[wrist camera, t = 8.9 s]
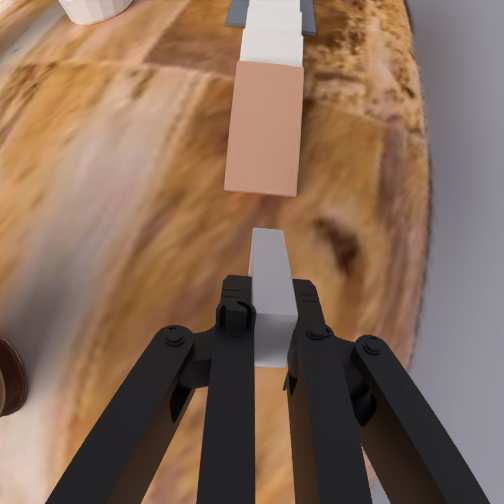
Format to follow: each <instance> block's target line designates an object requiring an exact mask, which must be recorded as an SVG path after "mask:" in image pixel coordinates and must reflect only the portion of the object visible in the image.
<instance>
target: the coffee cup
mask: <svg viewBox="0 0 504 504" xmlns="http://www.w3.org/2000/svg"><path fill="white" fill-rule="evenodd" d="M26 389H27V383H26V377H25V372H24V368H23V365H22V363H21V360H20V358H19V356H18V354H17V352H16V350H15V349H14V348H13V347H12V346H11V344H10V343H9V341H8V340H6V339H1V338H0V417H2V416H7V415H10V414H13V413H14V412H16V411H18V410H19V409H20V408H21V407H22V405H23V403H24V401H25V396H26Z"/></svg>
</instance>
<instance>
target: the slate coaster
mask: <svg viewBox="0 0 504 504" xmlns="http://www.w3.org/2000/svg"><path fill="white" fill-rule="evenodd" d="M249 2H250V0H232V1H231V5H230V8H229V12H228V15H227V19H226V26H232V27H246V19H247V11H248V6H249ZM300 12H302V28H301V34H304V35H310V36H315V35H316V27H315V18H314V10H313V3H312V0H300Z"/></svg>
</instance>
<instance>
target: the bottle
mask: <svg viewBox="0 0 504 504" xmlns="http://www.w3.org/2000/svg"><path fill="white" fill-rule="evenodd" d="M59 2H60V4H61V5H62V7H63V8H64V10H65V11H66V13H67V15H68V16H69V18H70V19H71V21H72V22H74V23H76V24H79V25H91V24H96V23H99V22H102V21H105V20H108V19H110V18H112V17H114V16H116V15H118V14H119V13H121V12H123V11H124V10H125V9H126V8H127V7H128V6H129V5H130V4H131V2H132V0H59Z"/></svg>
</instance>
